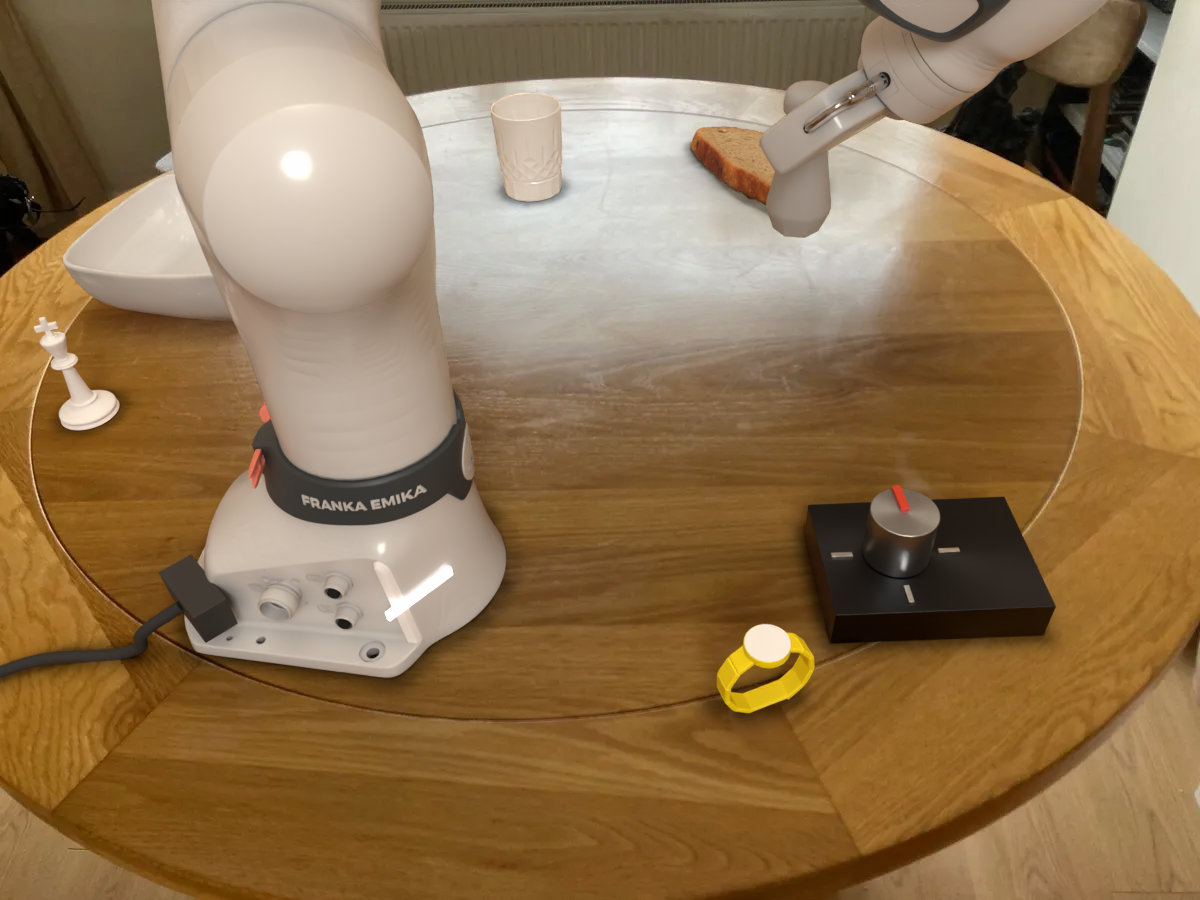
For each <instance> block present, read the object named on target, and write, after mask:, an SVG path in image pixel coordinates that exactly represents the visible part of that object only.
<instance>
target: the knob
mask: <svg viewBox="0 0 1200 900" xmlns="http://www.w3.org/2000/svg"><path fill="white" fill-rule="evenodd" d="M870 502H871V505H870V510H869V514H868V519H867V524H866V529H865V534H864V539H863V544H862V553H863V556H864V558H865V560H866V561H867V563H868V564H869V565H870V566H871V567H872V568H874V569H875V570H877V571H878V572H880V573H882V574H885V575H888V576H891V577H899V578H905V577H911V576H914V575H917V574H919V573H920V572H922V571H923V570H924V569H925V568H926V566H927V565H928V562H929V559H930V555H931V552H932V548H933V544H934V541H935V537H936V534H937V530H938V526H939V523H940V512H939V510H938V508H937V506H936V505H935V503H934V502H933V501H932V498H931V499H930V498H929V497H928V496H927V495H926V494H923V493H921V492H919V491H916V490H913V489H909V488H902V486H901V485H900V484H897V485H892V486H891V488H889V489H886V490H882V491H881V492H879V493H878V494H876V495H875V497H873V498H872V500H871V501H870Z"/></svg>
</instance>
